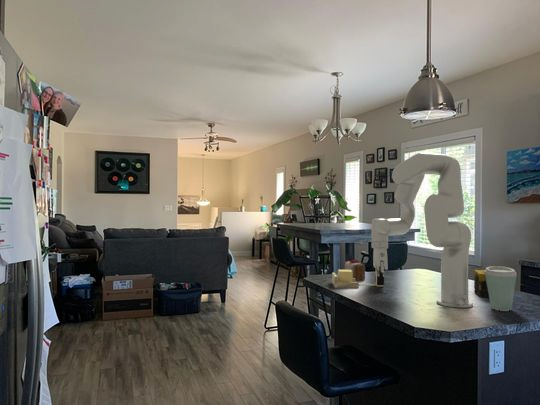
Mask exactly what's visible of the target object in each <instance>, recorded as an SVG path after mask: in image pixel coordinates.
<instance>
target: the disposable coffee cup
mask: <svg viewBox="0 0 540 405" xmlns="http://www.w3.org/2000/svg"><path fill="white" fill-rule="evenodd" d="M484 270H485V271H484V274H485V277H486V282H487V287H488V293H489V302H490V303H489V304H490V307H491V309H492V310H494V309H495V310H494V311H499V310H500V311H501V312H509V310H510V311H512V308H513V302H514V296H515V288H516V283H517V282H516V281H517V276H518V275H517V272H516V271H515V269H513V268H511V267H507V266H495V265H493V266H492V265H491V266H486V267H485V269H484ZM500 311H499V312H500Z"/></svg>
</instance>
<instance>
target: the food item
mask: <svg viewBox="0 0 540 405" xmlns="http://www.w3.org/2000/svg"><path fill="white" fill-rule="evenodd" d="M344 270H351V271H352V272H353V278H355V282H360V281H361V282H364V281H365V280H366V265H365V264H362V263H360V260H358V259H351V260H348V261H345V262H344Z"/></svg>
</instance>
